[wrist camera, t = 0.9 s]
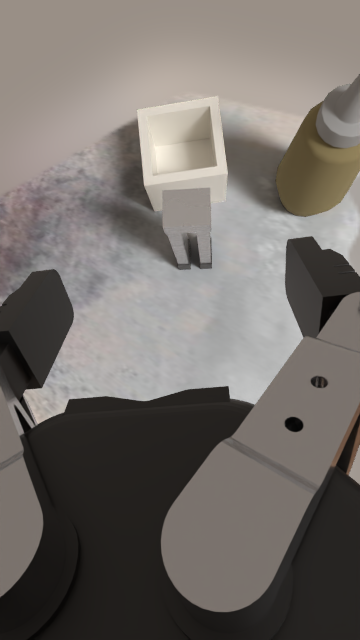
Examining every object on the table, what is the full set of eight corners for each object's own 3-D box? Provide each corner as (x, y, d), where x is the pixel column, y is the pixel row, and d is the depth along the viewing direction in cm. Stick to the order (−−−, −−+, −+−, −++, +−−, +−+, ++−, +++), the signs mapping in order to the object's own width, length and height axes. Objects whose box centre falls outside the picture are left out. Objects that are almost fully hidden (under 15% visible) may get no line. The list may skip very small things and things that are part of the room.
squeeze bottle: (324, 235, 41) (410, 141, 23) (260, 213, 42) (295, 106, 24) (348, 175, 41) (451, 36, 23) (284, 154, 42) (336, 6, 24)
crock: (154, 211, 43) (144, 186, 37) (148, 145, 44) (136, 109, 38) (225, 201, 42) (227, 173, 36) (217, 134, 43) (218, 95, 37)
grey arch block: (179, 269, 42) (162, 227, 28) (179, 244, 42) (162, 190, 28) (211, 268, 41) (211, 224, 28) (211, 243, 42) (210, 187, 28)
